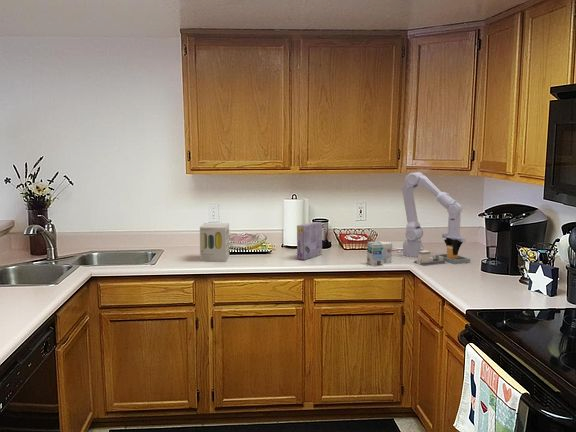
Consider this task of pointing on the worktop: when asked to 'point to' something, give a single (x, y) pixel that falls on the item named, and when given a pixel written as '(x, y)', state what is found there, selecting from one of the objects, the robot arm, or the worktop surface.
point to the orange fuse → (450, 252)
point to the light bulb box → (379, 253)
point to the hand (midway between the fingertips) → (452, 254)
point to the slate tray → (459, 261)
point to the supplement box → (214, 242)
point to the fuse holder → (431, 261)
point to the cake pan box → (309, 240)
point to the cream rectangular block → (424, 256)
